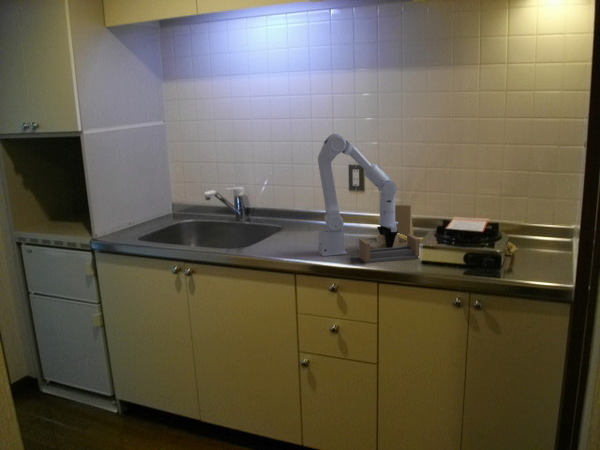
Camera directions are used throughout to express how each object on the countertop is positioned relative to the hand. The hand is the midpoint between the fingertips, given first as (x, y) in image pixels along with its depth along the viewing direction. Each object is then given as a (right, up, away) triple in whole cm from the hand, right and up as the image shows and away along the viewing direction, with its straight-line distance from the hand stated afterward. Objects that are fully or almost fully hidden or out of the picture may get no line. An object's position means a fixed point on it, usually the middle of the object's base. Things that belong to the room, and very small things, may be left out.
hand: (387, 246), depth 216 cm
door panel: (0, -1, 0) cm, 2 cm away
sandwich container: (+9, +3, +20) cm, 22 cm away
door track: (-1, -4, -10) cm, 11 cm away
